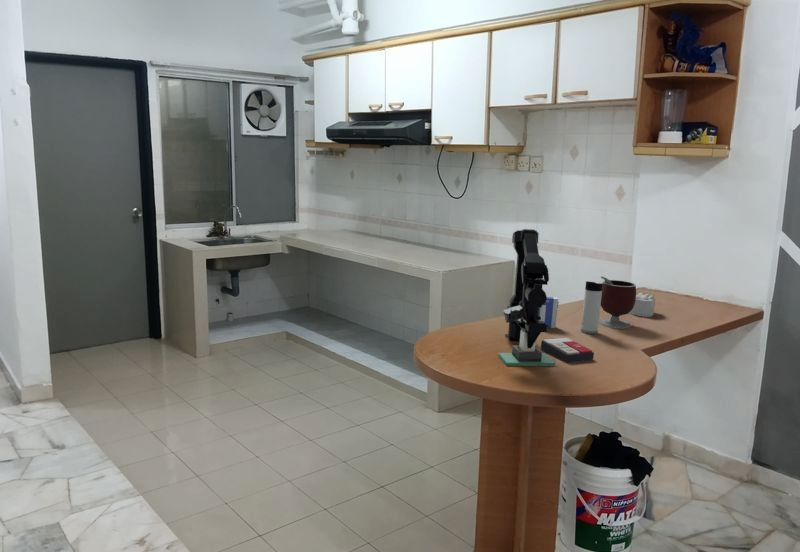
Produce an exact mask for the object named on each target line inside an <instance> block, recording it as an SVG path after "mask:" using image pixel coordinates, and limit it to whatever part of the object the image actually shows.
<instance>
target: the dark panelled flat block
mask: <svg viewBox="0 0 800 552" xmlns="http://www.w3.org/2000/svg"><path fill="white" fill-rule="evenodd" d="M540 351H543V353H544V352H545V354H549V355H551V356H553V357H555V358H556V359H558V360H560V361H563V362H564V363H576V362H586V361H594V355H595V353H594V351H593V350H592V349H590V348H588V347H587V346H584V345H582V344H580V343H579V342H577V341H574V340H572V339H570V338H568V337H559V338H552V339H551V338H549V339H542V340H541V343H540Z"/></svg>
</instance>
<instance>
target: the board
mask: <svg viewBox="0 0 800 552" xmlns="http://www.w3.org/2000/svg"><path fill="white" fill-rule="evenodd" d="M498 357H499V359H500V360H501V361H502V362H503V363H504V365H505V366H506V367H507V366H509V367H510V366H513V367H515V366H517V367H519V366H521V367H525V366H526V367H527V366H528V367H529V366H530V367H555V366H556V362H555V361H554V360H553V359H552V358H551V357H549V355H547V353H546V352H545V353H544V352H542V350H541V349H539V348H538V347H537V346H536V345H535V352H521V351H520V350H519V345H512V352H498Z"/></svg>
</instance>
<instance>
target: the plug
mask: <svg viewBox="0 0 800 552" xmlns="http://www.w3.org/2000/svg"><path fill="white" fill-rule="evenodd" d="M536 344H537V340H536V341H535V342H534V344H533V346H532V347H531V348H528V347H527V333H526V331H525V330H524V329H523V328H522V330H521V333H520V340H519V344H518V346H519V350H520V351H521V352H535V346H536Z"/></svg>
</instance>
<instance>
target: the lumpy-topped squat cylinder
mask: <svg viewBox="0 0 800 552" xmlns="http://www.w3.org/2000/svg"><path fill="white" fill-rule="evenodd" d="M655 306H656V298H655V296H654V295H651V294H650V293H646V294H645V293H643V292H639V293H638V294H637V293H636V300H635V304H634V307H633V309H632V310H631V311H630V312H629V313H628V314H627V315H630V314H631V315H630V316H636V315H637V317H641V316H642V317H643V318H651V317H653V316H654V314H655Z"/></svg>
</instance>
